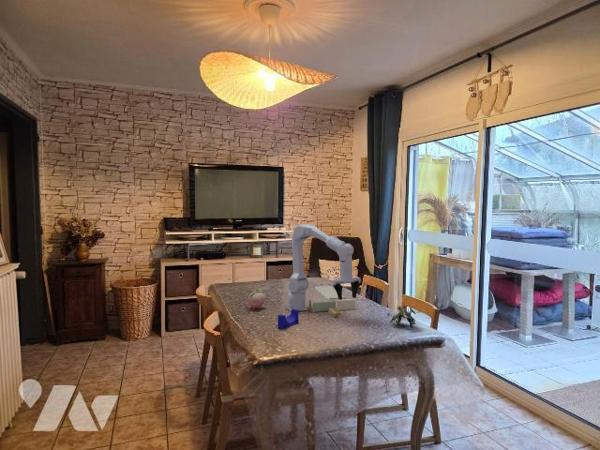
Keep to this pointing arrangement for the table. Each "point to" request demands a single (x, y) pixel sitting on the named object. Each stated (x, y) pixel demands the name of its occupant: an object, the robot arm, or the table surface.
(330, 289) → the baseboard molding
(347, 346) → the table surface
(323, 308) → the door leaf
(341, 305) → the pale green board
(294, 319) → the blue u-shaped block
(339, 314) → the doorstop block
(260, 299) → the decorative fruit
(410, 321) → the dark green branching piece
